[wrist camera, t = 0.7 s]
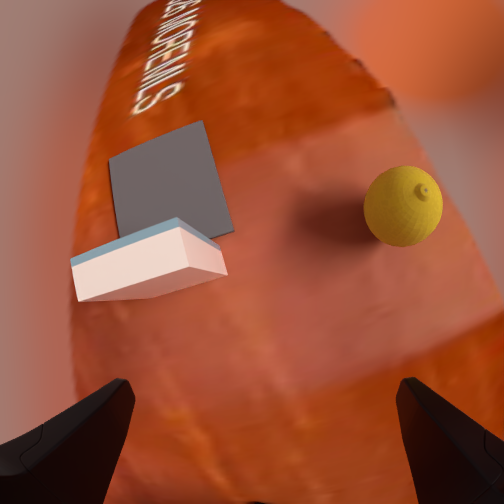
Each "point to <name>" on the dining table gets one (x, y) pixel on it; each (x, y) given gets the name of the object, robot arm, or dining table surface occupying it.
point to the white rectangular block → (147, 264)
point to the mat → (170, 184)
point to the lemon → (403, 206)
